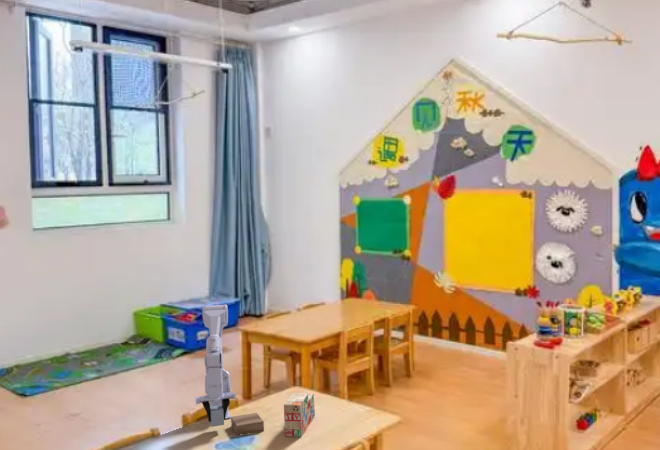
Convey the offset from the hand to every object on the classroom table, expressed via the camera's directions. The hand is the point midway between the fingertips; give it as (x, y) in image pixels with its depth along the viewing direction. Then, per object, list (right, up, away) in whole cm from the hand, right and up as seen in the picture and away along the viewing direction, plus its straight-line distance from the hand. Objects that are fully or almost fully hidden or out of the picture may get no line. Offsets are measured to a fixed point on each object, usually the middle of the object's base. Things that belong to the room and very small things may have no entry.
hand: (216, 419), depth 251 cm
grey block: (0, -2, 0) cm, 2 cm away
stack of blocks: (+31, -3, +2) cm, 31 cm away
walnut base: (+11, -4, +2) cm, 12 cm away
